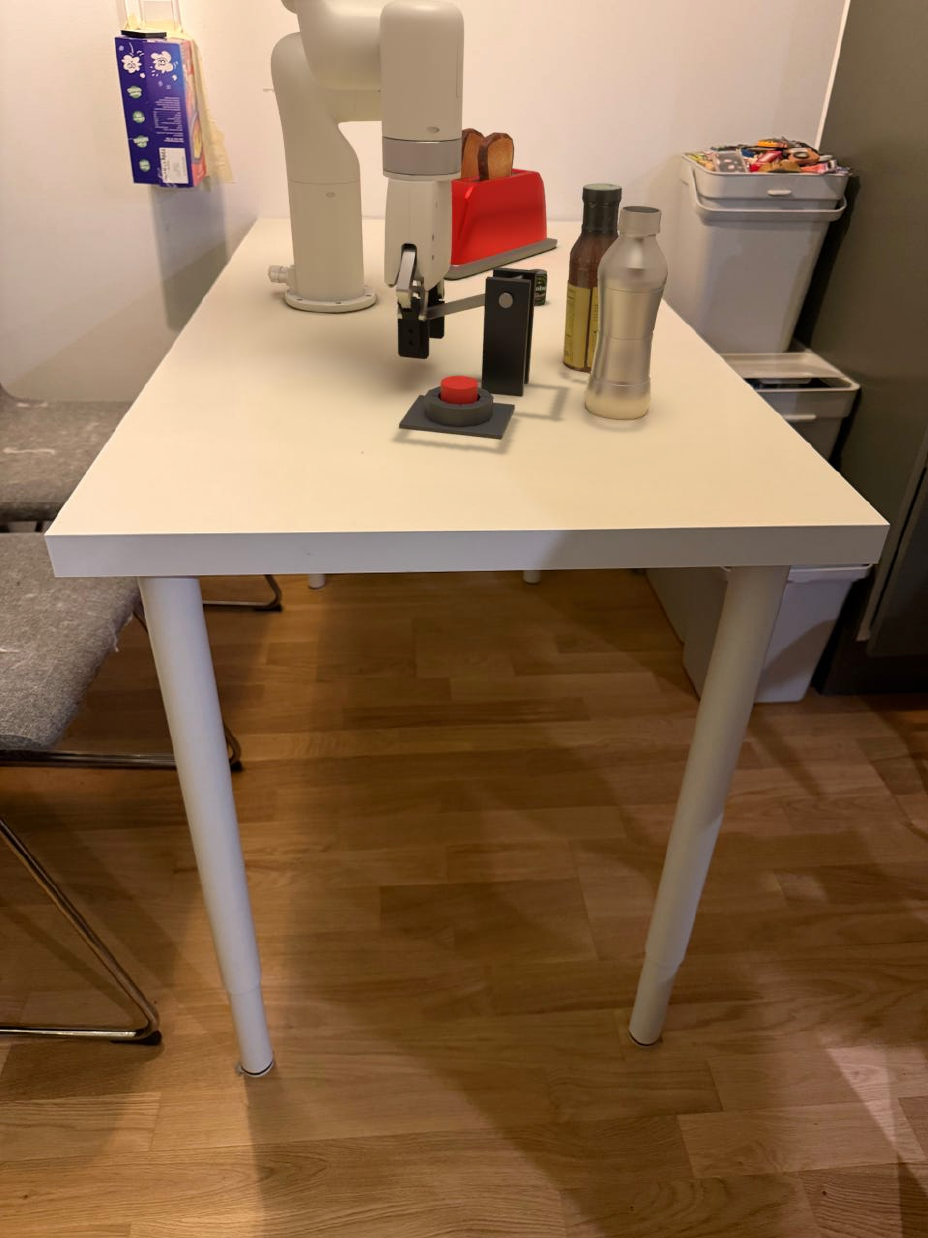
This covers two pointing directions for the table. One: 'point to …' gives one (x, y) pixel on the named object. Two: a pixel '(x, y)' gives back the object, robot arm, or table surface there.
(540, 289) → the beer can
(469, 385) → the button
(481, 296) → the lever
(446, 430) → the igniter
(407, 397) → the table surface
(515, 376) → the bracket
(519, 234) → the toaster
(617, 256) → the plastic bottle
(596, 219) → the sauce bottle
